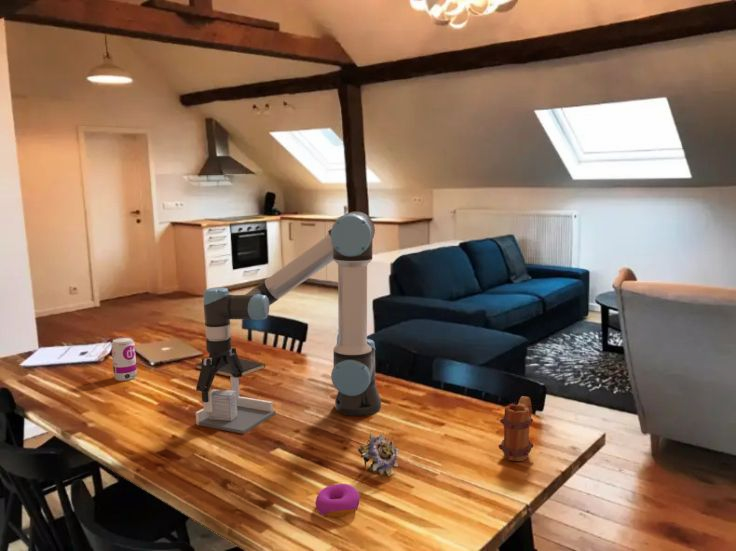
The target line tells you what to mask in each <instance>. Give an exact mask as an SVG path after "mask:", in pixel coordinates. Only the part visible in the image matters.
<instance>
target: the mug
mask: <svg viewBox="0 0 736 551" xmlns="http://www.w3.org/2000/svg"><path fill="white" fill-rule="evenodd" d="M532 411H533V410H532V402H531V398H530V397H529V396H525V395H524V396H523V395H521V397H520V398H519V400H518V404H514V403H510V404H508V405H506V406H505V408H504V415H503V416H502V418H501V419H500V420H499V422H500V423H501V424H502V425H503V434H504V435H503V439H502V441H501V443H500V444H499V445H498V449H499V450H501V451H502V453H503V456H504V458H505V459H507V460H509V461H512V460H514V461H513V462H523V461H525V459H526V460H527V459H528V458H529V454H530V453H531V451H532V448H534V443H532V442H531V441H530V427H531V424H532V423H533V422H534V419H533V418H532Z"/></svg>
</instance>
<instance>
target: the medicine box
mask: <svg viewBox="0 0 736 551" xmlns="http://www.w3.org/2000/svg"><path fill="white" fill-rule="evenodd" d="M210 391H211V397H212V412H209V419H211V420H223V421H232V420H234V419H235V418H236V417H237V416H238V415H237V401H236V391H232V390H231V389H218V388H217V389H216V388H214V389H212V390H210Z"/></svg>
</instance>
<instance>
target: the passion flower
mask: <svg viewBox="0 0 736 551" xmlns="http://www.w3.org/2000/svg"><path fill="white" fill-rule="evenodd" d="M357 451H358V453H359V454H360V458H363V461H364V467H366V466H367V463H368V462H369V461H370V459H372V463H371V464H370V465H369V471H371V472H372V473H373V472H375V471H377V474H378V475H379V476H381V477H383V475H385V476H387V475H390V476H391V474H392V467H395V468H398V467H399V463H398V461H397V460H399V459H397V458H398V455H397V454H399V452H400V449H399V448H396V446H394V442H393V440H392V441H390V440H387V438H386V437H385V438H384V434H383V433H381V434H379V436H374V434H373V433H369V439H368V440H367V441H366V444H361V445H360V447H359V448H358V450H357ZM371 472H370V473H371Z"/></svg>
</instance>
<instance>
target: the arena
mask: <svg viewBox="0 0 736 551" xmlns="http://www.w3.org/2000/svg"><path fill="white" fill-rule="evenodd" d="M236 401H237V415H238V416H237V417H236V418H235V419H234V420H232V421H223V420H211V419H209V412H206V411H204V408H201V409H200V410H197V411H195V421H196V423H195V424H196V425H197V426H203V427H207V428H212V429H216V430H217V429H218V430H220V431H221V430H222V431H228V432H232V433H238V434H242V435H243V434H244V435H245V434H247V433H248V432H249V431H251V430H253V429H255V428H256V427H258V426H260V425H261V424H263V423H264V422H265V421H268V420H269V419H270V418H272V417H273V416H275V415H277V414H276V410H274V404H273V403H274V402H273V401H269V400H263V399H257V398H252V397H246V396H241V395H240V397H239V398H237V397H236Z"/></svg>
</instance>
